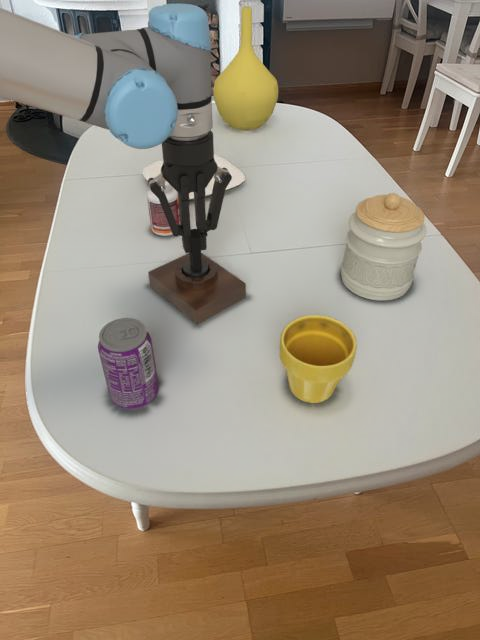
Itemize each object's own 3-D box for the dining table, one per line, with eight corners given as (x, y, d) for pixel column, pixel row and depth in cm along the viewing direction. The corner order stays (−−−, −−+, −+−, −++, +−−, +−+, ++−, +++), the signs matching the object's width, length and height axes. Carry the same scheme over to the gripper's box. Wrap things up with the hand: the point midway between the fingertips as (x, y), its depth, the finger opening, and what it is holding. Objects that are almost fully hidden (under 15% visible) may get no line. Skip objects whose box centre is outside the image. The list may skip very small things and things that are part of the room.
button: (178, 275, 92) (177, 266, 90) (198, 265, 94) (197, 256, 92) (193, 287, 89) (193, 277, 88) (213, 276, 91) (213, 267, 90)
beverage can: (152, 370, 79) (143, 310, 71) (164, 404, 74) (156, 344, 66) (106, 382, 77) (91, 322, 69) (115, 418, 73) (100, 358, 65)
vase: (232, 141, 143) (232, 19, 123) (203, 119, 155) (198, 4, 135) (288, 129, 150) (296, 11, 130) (256, 108, 162) (259, -2, 142)
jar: (389, 312, 90) (411, 223, 78) (326, 282, 96) (338, 196, 84) (423, 278, 97) (448, 192, 85) (362, 252, 103) (378, 168, 92)
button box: (149, 286, 95) (146, 263, 92) (197, 262, 100) (196, 241, 97) (196, 324, 87) (195, 301, 84) (245, 297, 93) (246, 275, 89)
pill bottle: (186, 231, 109) (182, 182, 102) (160, 240, 106) (154, 191, 99) (171, 218, 113) (166, 170, 105) (146, 227, 110) (139, 179, 103)
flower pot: (342, 421, 72) (352, 374, 66) (269, 405, 74) (272, 358, 68) (350, 368, 80) (360, 321, 73) (284, 355, 82) (289, 308, 75)
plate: (255, 186, 124) (255, 180, 123) (173, 211, 115) (172, 204, 114) (210, 153, 137) (210, 147, 136) (134, 173, 129) (133, 166, 128)
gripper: (145, 147, 70) (162, 285, 86) (238, 135, 73) (238, 271, 89) (137, 126, 75) (154, 259, 91) (223, 116, 78) (226, 247, 94)
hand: (195, 265), depth 90 cm, fingers closed
